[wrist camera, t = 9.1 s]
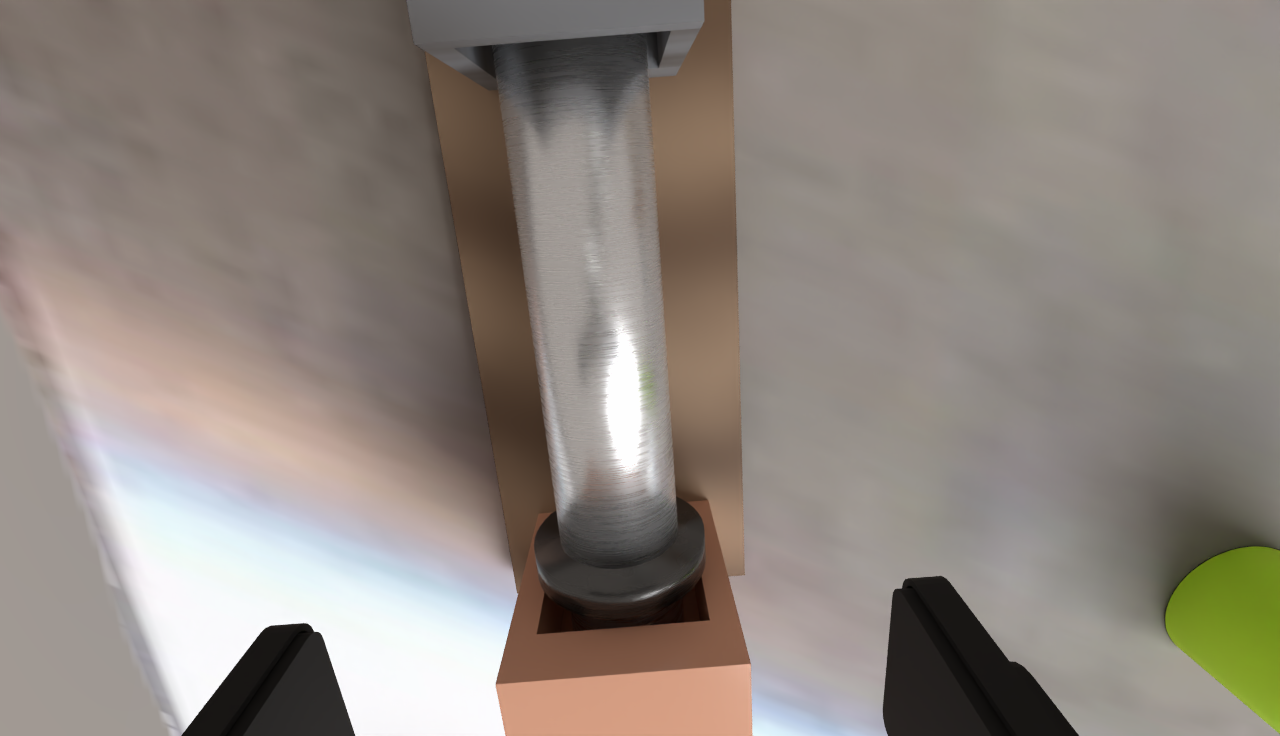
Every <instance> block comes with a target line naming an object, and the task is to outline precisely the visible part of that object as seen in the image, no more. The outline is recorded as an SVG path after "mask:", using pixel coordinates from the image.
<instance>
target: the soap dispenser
mask: <svg viewBox="0 0 1280 736" xmlns="http://www.w3.org/2000/svg"><path fill="white" fill-rule="evenodd" d="M1165 623H1166V629H1167V632H1168V635H1169V637H1170V638H1171V640H1172V641H1173V642H1174V644H1175V645H1176V646H1177V647H1179V648H1180V649H1181V650H1182V651H1183V652H1184V653H1186V654H1187V655H1188V656H1189V657H1190V658H1191V659H1193V660H1194V661H1195V662H1196V663H1197V664H1198V665H1200V666H1201V667H1202V668H1203V669H1204V670H1205V671H1207V672H1208V673H1209V674H1210V675H1211V676H1213V677H1214V678H1215V679H1216V680H1217V681H1218V682H1220V683H1221V684H1222V685H1223V686H1224V687H1225V688H1227V689H1228V690H1229V691H1230V692H1231V693H1232V694H1234V695H1235V696H1236V697H1237V698H1238V699H1239V700H1241V701H1242V702H1243V703H1244V704H1245V705H1247V706H1248V707H1249V708H1250V709H1251V710H1252V711H1254V712H1255V713H1256V714H1257V715H1258V716H1259V717H1261V718H1262V719H1263V720H1264V721H1265V722H1266V723H1268V724H1269V725H1270V726H1271V727H1272V728H1273V729H1275V730H1276V731H1277V732H1278V733H1279V734H1280V551H1279V550H1276V549H1273V548H1268V547H1244V548H1238V549H1234V550H1231V551H1227V552H1225V553H1222V554H1219V555H1217V556H1215V557H1213V558H1211V559H1209V560H1207V561H1206V562H1204V563H1203V564H1201V565H1200V566H1198V567H1197V568H1196V569H1194V570H1193V571H1192V572H1191V573H1190V574H1188V575H1187V576H1186V577H1185V578H1184V579H1183V581H1182V582H1181V583H1180V584H1179V585H1178V587H1177V588H1176V590H1175V591H1174V593H1173V595H1172V596H1171V598H1170V601H1169V603H1168V606H1167V610H1166V616H1165Z"/></svg>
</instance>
